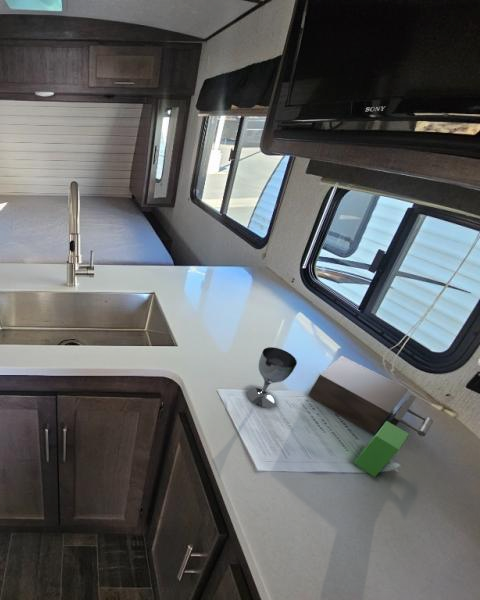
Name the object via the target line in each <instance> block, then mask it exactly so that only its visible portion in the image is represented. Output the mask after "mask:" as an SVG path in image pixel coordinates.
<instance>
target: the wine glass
mask: <svg viewBox="0 0 480 600" xmlns="http://www.w3.org/2000/svg"><path fill="white" fill-rule="evenodd" d="M297 364H298V361H297V359H296V358H295V356H293V355H292V353H290V352H289V351H287V350H284V349H282V348H278V347H265V348H264V349H263V350H262V351H261V354H260V357H259V361H258V371H259V374H260V376H261V377H262V378H263V381H264V382H263V386H262V389H261V388H258V387H250V388H248V389H247V390H246V396H247V398H248V400H249V401H251V402H252V403H253V404H254V405H257V406H258V407H261V408H265V409H266V408H269V409H270V408H272V407H274V405H275V399H274V397H273V396H272V395H271V394H270V393H269V392H267V389H268V388H269V387H270V385H271V384H276V383H281V382H284V381H286V380H287V379H288V378H289V377H290V376H291V375H292V374H293V372H294V370H295V369H296V366H297Z"/></svg>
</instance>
